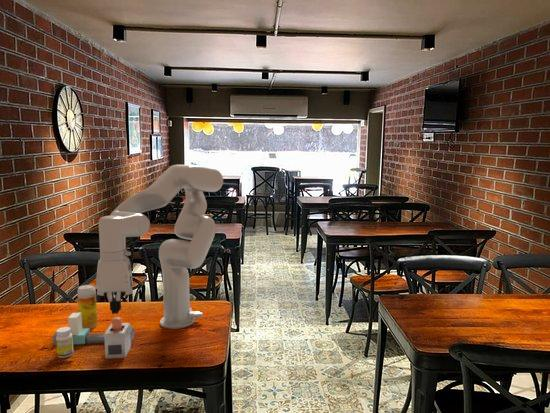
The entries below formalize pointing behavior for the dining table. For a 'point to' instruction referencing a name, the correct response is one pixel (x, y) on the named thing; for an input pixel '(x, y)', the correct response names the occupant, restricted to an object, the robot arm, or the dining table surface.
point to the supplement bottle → (64, 342)
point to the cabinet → (117, 342)
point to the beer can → (87, 305)
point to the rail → (95, 337)
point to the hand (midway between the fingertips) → (115, 312)
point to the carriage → (77, 328)
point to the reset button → (117, 324)
